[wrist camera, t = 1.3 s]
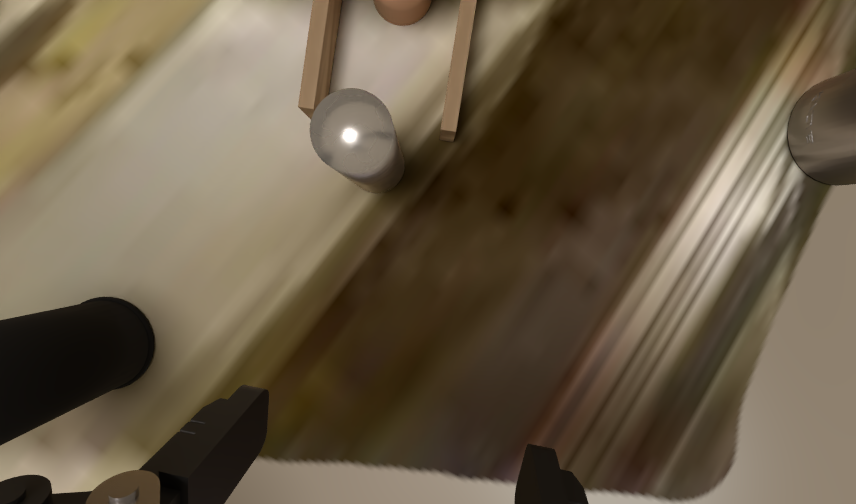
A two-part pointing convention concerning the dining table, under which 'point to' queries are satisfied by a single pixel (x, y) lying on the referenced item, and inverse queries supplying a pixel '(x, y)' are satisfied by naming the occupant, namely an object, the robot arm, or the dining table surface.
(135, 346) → the aerosol can
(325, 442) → the dining table surface
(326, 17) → the channel
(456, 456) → the dining table surface
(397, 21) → the cylinder
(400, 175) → the shaft
